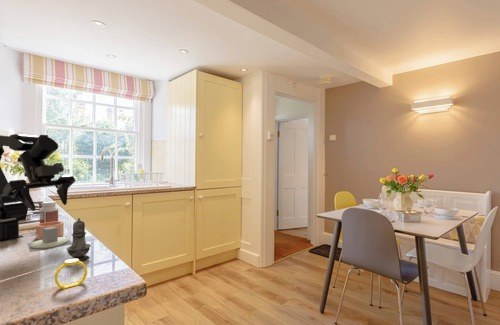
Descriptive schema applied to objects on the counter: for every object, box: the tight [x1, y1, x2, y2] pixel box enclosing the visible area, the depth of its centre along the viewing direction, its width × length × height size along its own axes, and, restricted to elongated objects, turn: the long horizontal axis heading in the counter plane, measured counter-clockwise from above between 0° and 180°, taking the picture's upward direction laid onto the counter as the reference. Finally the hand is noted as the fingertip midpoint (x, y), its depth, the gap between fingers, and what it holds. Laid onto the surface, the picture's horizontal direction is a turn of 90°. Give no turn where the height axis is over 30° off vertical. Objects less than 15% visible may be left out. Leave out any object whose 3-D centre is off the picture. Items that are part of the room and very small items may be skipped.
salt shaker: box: [66, 217, 92, 263], centre depth 75 cm, size 6×6×12 cm
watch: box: [54, 258, 88, 290], centre depth 59 cm, size 6×3×6 cm, turn 130°
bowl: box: [35, 220, 65, 240], centre depth 97 cm, size 8×8×5 cm
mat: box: [27, 236, 73, 253], centre depth 88 cm, size 11×11×1 cm
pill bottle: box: [39, 200, 59, 224], centre depth 110 cm, size 6×6×11 cm
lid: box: [30, 227, 69, 250], centre depth 88 cm, size 10×10×5 cm
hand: (50, 207), depth 86 cm, fingers open, 9 cm apart
